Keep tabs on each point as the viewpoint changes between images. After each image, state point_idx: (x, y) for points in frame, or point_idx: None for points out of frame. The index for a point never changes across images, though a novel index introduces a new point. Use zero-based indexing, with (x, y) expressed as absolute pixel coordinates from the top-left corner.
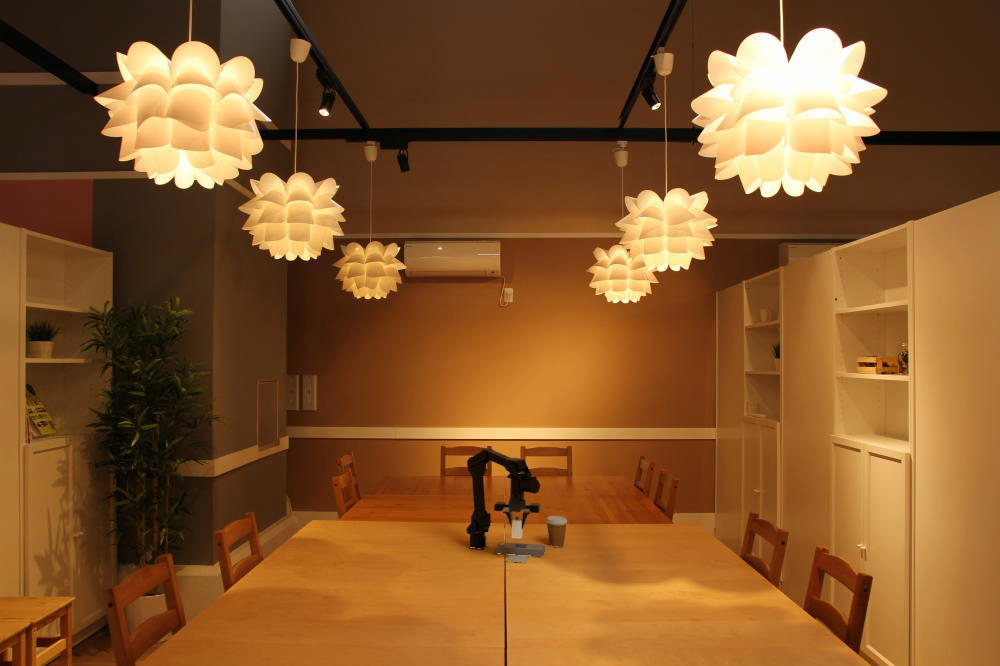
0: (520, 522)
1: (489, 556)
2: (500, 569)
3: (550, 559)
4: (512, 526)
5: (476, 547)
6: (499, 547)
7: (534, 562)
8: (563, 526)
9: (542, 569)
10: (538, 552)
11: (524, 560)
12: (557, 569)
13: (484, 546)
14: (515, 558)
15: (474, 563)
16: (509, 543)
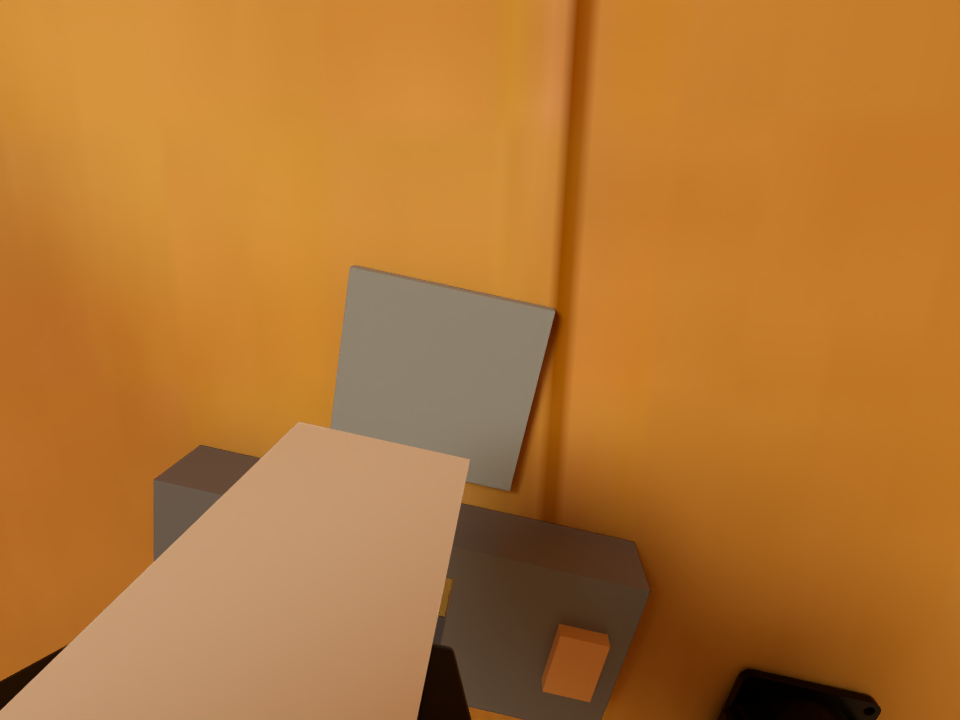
0: (69, 682)
1: (704, 491)
2: (633, 53)
3: (127, 387)
4: (413, 617)
5: (808, 698)
6: (612, 582)
7: (266, 302)
8: None
9: (167, 65)
10: (215, 475)
11: (359, 319)
12: (16, 68)
13: (730, 709)
14: (450, 384)
15: (908, 276)
16: (498, 688)
